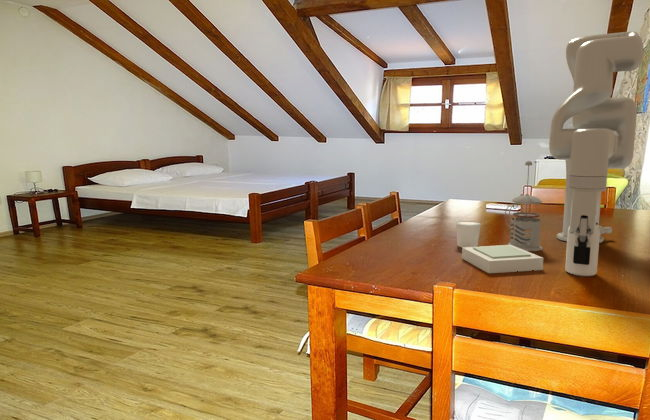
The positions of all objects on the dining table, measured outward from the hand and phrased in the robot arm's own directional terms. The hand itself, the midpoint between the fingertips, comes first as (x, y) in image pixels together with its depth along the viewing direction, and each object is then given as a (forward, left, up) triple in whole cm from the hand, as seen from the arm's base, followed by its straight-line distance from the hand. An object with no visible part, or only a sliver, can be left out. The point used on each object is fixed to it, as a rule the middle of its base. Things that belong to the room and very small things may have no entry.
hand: (581, 259), depth 106 cm
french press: (-2, -27, -3) cm, 27 cm away
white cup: (+13, -31, -3) cm, 34 cm away
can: (0, 0, -3) cm, 3 cm away
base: (+14, -11, -3) cm, 18 cm away
